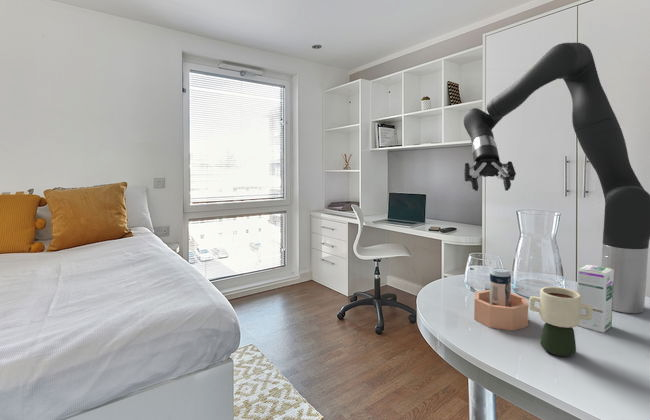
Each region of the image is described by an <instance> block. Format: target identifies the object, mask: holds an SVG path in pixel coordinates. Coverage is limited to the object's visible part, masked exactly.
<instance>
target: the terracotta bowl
mask: <svg viewBox="0 0 650 420" xmlns="http://www.w3.org/2000/svg"><path fill="white" fill-rule="evenodd" d="M473 317H474V318H473V319H474V320H475V321H476V322H478V323H481V324H482V325H484V326H486V327H488V328H490V329H491V328H492V329H499V330H507V331H516V330H520V329H525V328H527V327H528V324H529V319H528V318H529V302H528V300H527V298H526V297H524V296H521V295H519V294H516V293H513V292H511V299H510V307H506V306H498V305H491V304H490V289H487V290H481V291H476V292H474V316H473Z"/></svg>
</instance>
